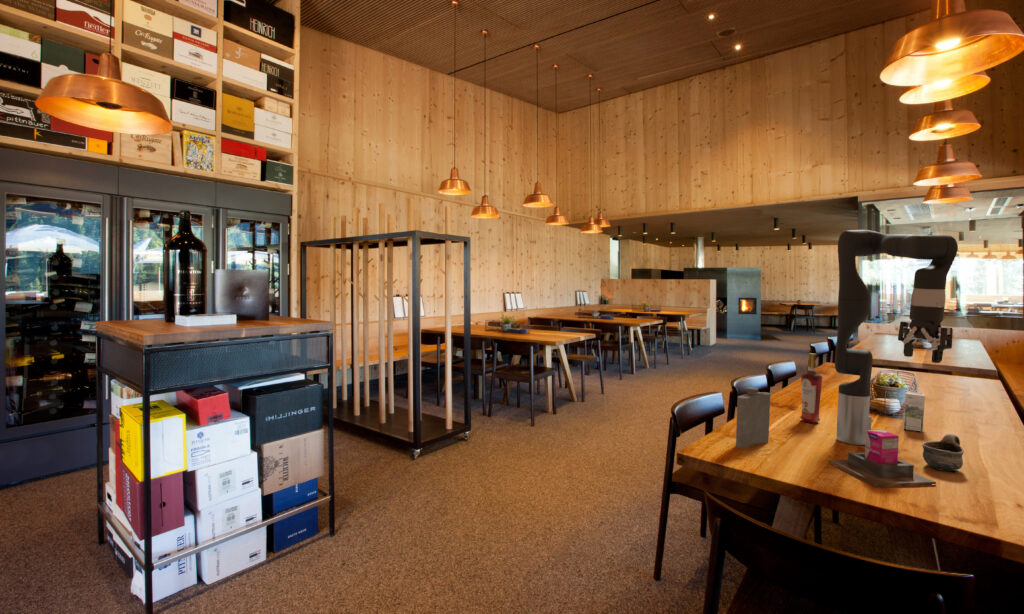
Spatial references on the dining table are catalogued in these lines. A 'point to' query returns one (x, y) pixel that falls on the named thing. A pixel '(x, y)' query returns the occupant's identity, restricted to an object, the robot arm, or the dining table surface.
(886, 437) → the supplement box
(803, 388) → the liquor
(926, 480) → the socket
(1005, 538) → the dining table surface
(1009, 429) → the dining table surface
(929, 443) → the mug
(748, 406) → the hip flask
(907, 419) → the syrup box
